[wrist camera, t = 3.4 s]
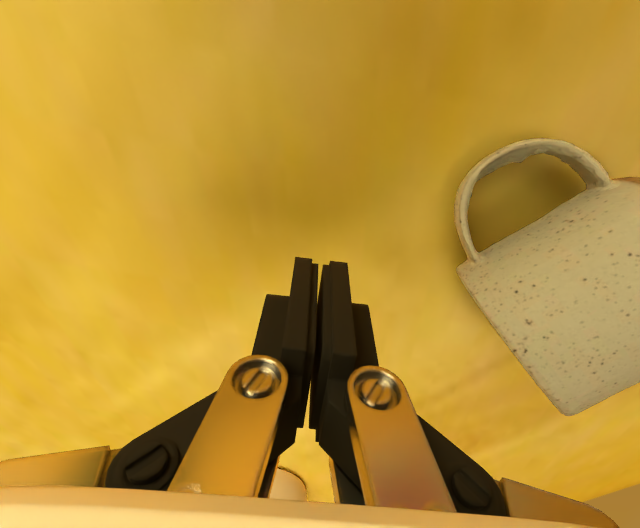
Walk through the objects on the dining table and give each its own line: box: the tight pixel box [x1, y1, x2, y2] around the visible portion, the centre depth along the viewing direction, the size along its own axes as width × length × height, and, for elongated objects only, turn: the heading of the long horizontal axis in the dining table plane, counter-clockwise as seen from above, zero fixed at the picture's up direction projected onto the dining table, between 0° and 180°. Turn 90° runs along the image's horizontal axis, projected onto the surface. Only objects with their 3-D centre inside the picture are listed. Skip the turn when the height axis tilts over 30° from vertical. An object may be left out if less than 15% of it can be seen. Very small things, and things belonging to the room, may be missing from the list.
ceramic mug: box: [454, 138, 640, 416], centre depth 14 cm, size 11×8×8 cm
